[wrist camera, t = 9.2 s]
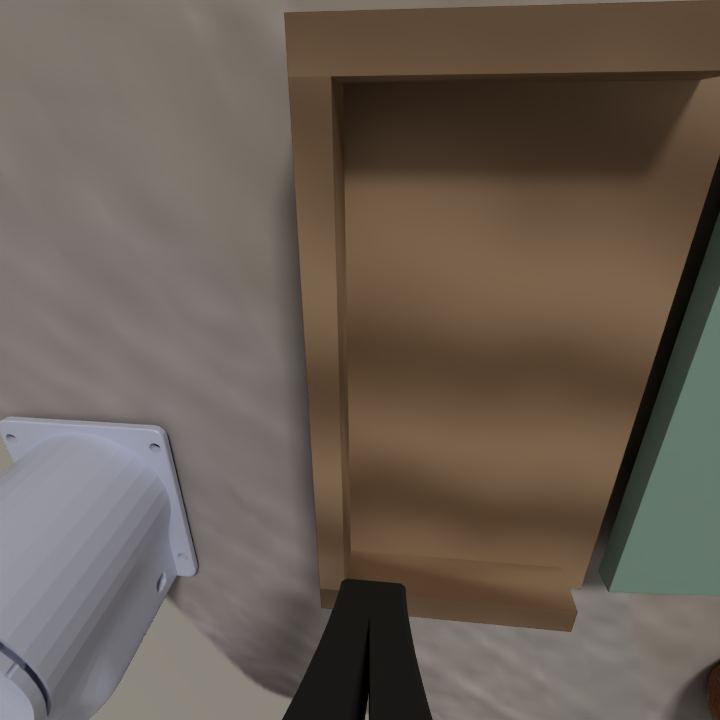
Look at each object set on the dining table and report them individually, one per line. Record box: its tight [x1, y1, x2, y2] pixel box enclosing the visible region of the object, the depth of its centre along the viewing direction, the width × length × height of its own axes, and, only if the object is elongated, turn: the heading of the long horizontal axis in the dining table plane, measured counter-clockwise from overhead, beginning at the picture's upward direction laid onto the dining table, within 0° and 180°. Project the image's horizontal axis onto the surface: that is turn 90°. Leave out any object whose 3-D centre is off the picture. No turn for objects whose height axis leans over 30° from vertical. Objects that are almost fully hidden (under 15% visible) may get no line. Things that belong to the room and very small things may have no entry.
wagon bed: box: [284, 0, 720, 632], centre depth 16 cm, size 20×11×4 cm, turn 0°
